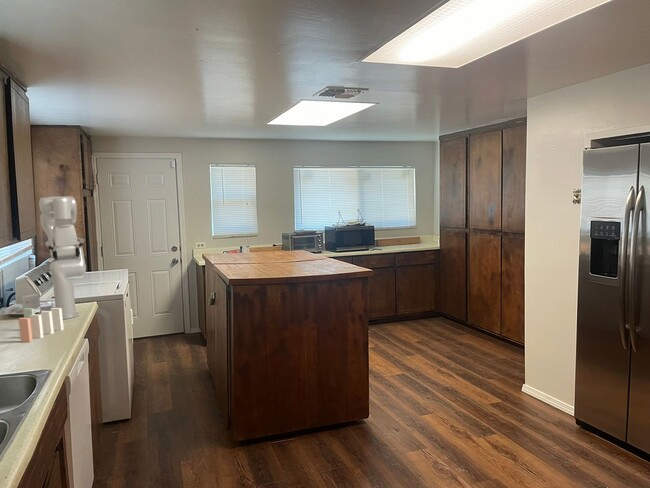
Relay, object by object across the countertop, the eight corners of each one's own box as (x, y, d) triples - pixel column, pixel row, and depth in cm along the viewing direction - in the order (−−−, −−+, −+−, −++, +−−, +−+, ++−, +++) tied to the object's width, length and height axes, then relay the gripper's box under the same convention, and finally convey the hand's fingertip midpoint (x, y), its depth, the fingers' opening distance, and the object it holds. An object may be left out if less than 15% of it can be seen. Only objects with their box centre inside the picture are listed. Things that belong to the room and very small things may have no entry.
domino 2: (23, 340, 224) (21, 317, 223) (32, 341, 223) (30, 318, 222) (21, 341, 223) (18, 318, 222) (29, 342, 222) (27, 318, 220)
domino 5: (55, 329, 242) (53, 307, 241) (63, 329, 241) (61, 308, 240) (52, 330, 241) (50, 308, 239) (61, 330, 239) (59, 308, 238)
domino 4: (45, 332, 236) (43, 310, 235) (53, 333, 235) (51, 311, 234) (42, 333, 235) (40, 311, 234) (51, 334, 233) (48, 312, 232)
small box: (38, 311, 283) (36, 293, 282) (41, 312, 279) (39, 294, 278) (22, 314, 277) (20, 296, 276) (25, 315, 273) (23, 297, 272)
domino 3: (34, 336, 230) (32, 314, 229) (43, 337, 229) (41, 314, 228) (32, 337, 229) (29, 315, 228) (40, 338, 228) (38, 315, 226)
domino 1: (28, 329, 244) (26, 308, 242) (36, 329, 242) (34, 308, 241) (25, 330, 242) (23, 309, 241) (33, 330, 241) (31, 309, 240)
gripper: (80, 221, 243) (83, 255, 245) (41, 224, 232) (45, 259, 234) (84, 221, 238) (88, 256, 240) (45, 224, 226) (48, 260, 228)
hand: (66, 257), depth 237 cm, fingers open, 9 cm apart
